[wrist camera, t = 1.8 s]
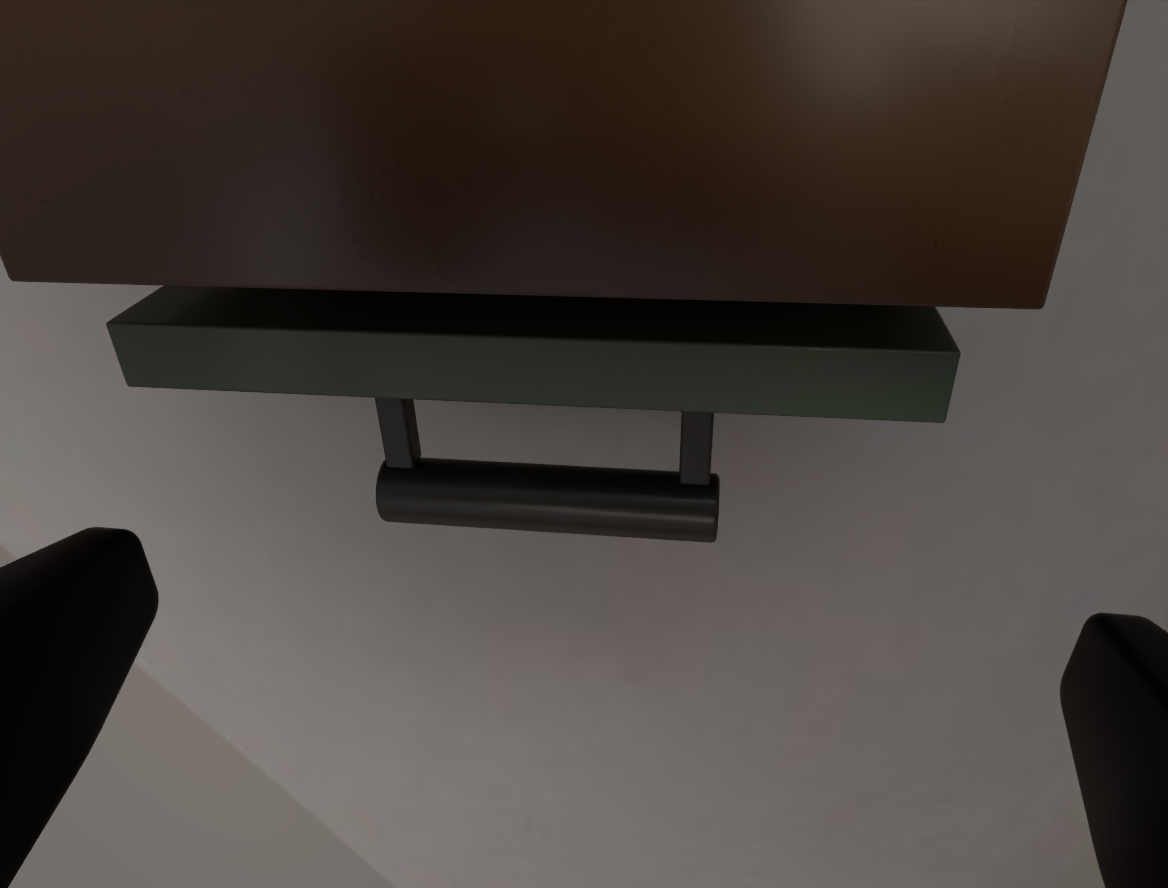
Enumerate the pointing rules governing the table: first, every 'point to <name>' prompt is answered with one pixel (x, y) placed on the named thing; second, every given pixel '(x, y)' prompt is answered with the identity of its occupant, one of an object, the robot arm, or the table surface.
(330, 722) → the table surface
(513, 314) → the drawer
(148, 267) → the cabinet
